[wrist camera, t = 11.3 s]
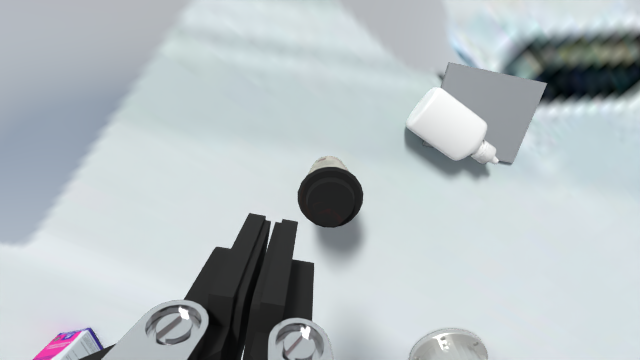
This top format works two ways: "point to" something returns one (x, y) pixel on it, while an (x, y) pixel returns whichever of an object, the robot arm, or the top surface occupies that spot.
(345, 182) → the coffee cup
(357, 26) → the top surface
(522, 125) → the mat
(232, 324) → the robot arm
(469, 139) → the eye dropper bottle
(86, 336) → the supplement box
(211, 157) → the top surface
